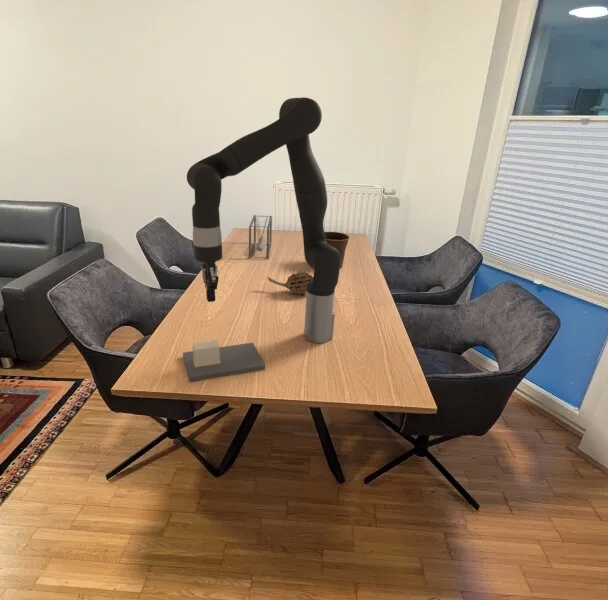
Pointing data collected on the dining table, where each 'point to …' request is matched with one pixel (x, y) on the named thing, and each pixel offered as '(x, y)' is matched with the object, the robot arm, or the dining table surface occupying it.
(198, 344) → the block
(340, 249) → the plant pot
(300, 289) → the pine cone
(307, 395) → the dining table surface
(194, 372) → the board
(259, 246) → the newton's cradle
